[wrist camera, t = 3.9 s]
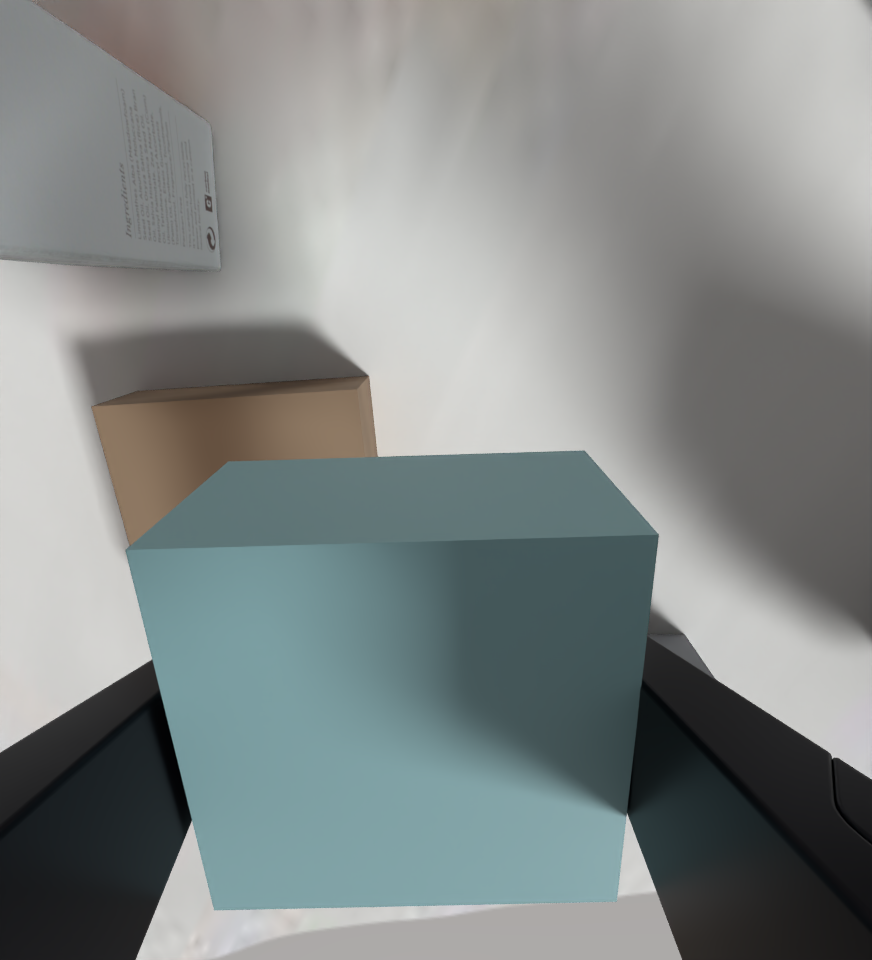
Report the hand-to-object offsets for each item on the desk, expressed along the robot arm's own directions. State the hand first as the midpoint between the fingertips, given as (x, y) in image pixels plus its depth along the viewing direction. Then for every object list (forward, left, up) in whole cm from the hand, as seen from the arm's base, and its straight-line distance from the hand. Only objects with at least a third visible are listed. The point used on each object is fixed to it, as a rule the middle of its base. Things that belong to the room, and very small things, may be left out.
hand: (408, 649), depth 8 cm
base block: (+6, +1, -12) cm, 13 cm away
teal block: (0, 0, -1) cm, 1 cm away
